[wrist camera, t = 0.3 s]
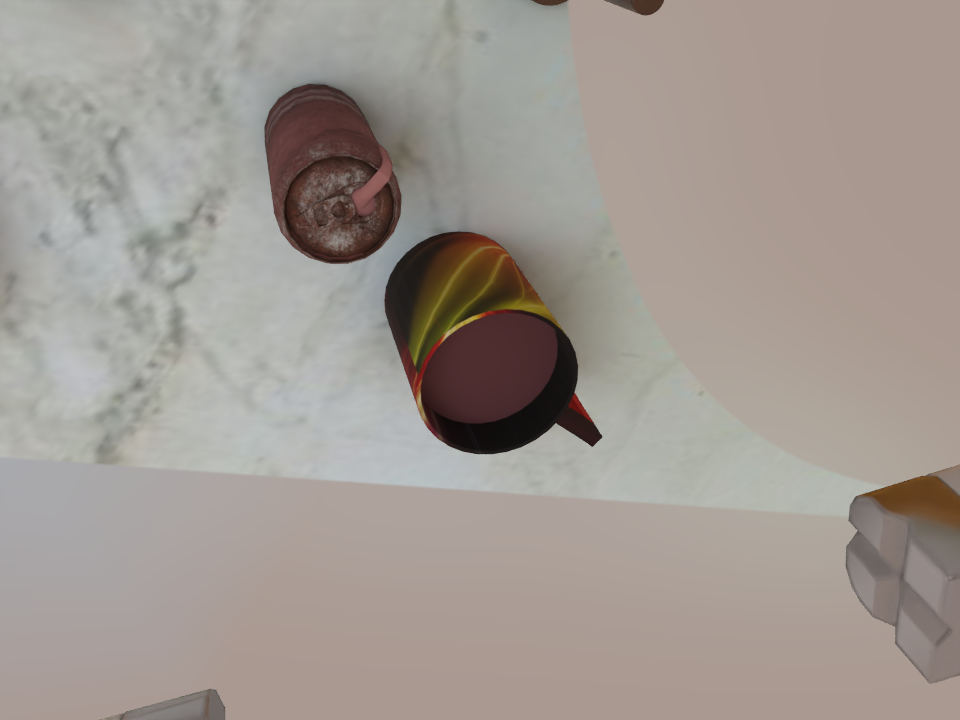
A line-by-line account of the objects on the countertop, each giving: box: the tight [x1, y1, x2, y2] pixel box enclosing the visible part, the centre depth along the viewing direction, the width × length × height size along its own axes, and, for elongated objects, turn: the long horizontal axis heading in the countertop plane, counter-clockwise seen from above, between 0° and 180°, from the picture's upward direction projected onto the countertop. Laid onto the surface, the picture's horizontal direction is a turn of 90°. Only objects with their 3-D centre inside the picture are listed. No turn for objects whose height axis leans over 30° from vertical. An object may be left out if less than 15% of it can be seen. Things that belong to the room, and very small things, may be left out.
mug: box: [384, 232, 602, 454], centre depth 57 cm, size 10×14×12 cm
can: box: [265, 84, 401, 264], centre depth 48 cm, size 6×6×14 cm
